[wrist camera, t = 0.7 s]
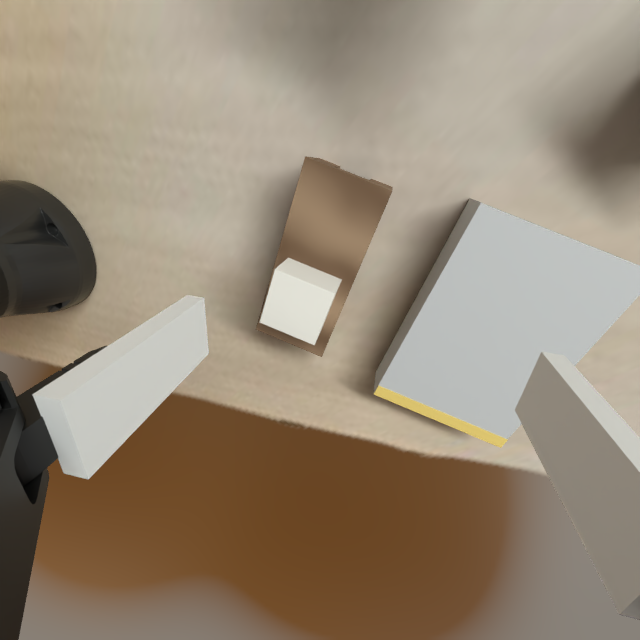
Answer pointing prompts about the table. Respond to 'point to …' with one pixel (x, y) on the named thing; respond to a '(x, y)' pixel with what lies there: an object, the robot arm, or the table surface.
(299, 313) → the small white block
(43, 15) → the table surface
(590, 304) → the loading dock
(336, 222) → the notched wooden block
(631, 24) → the table surface
